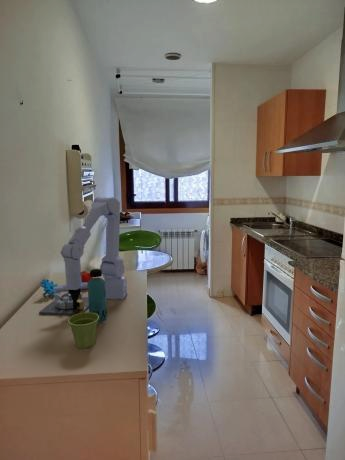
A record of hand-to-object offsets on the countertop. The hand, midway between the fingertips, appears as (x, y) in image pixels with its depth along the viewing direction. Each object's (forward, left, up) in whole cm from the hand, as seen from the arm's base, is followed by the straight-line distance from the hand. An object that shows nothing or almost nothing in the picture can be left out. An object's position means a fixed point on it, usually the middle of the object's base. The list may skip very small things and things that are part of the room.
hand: (75, 307), depth 129 cm
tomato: (+10, -30, -2) cm, 32 cm away
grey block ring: (+4, -5, -1) cm, 6 cm away
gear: (+19, -19, -2) cm, 27 cm away
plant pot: (-13, +24, -2) cm, 27 cm away
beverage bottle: (-12, +9, -2) cm, 15 cm away
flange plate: (+5, -6, -2) cm, 8 cm away
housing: (+5, -6, -2) cm, 8 cm away
